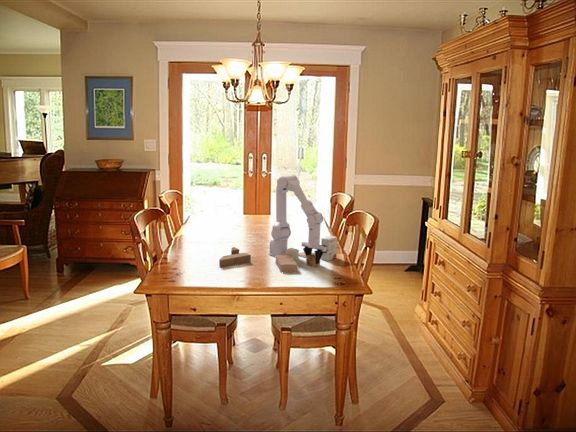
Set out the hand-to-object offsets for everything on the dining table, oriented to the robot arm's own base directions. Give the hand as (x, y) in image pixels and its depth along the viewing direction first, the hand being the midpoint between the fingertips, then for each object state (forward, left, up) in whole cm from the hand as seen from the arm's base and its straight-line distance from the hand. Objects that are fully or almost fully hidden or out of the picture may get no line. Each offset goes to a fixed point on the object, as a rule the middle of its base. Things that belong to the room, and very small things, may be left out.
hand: (313, 262), depth 252 cm
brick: (-7, -12, -2) cm, 15 cm away
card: (-14, +12, -1) cm, 18 cm away
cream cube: (-15, +1, -2) cm, 15 cm away
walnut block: (0, 0, -1) cm, 1 cm away
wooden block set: (-35, -26, -2) cm, 44 cm away
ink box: (-1, +15, -2) cm, 15 cm away
